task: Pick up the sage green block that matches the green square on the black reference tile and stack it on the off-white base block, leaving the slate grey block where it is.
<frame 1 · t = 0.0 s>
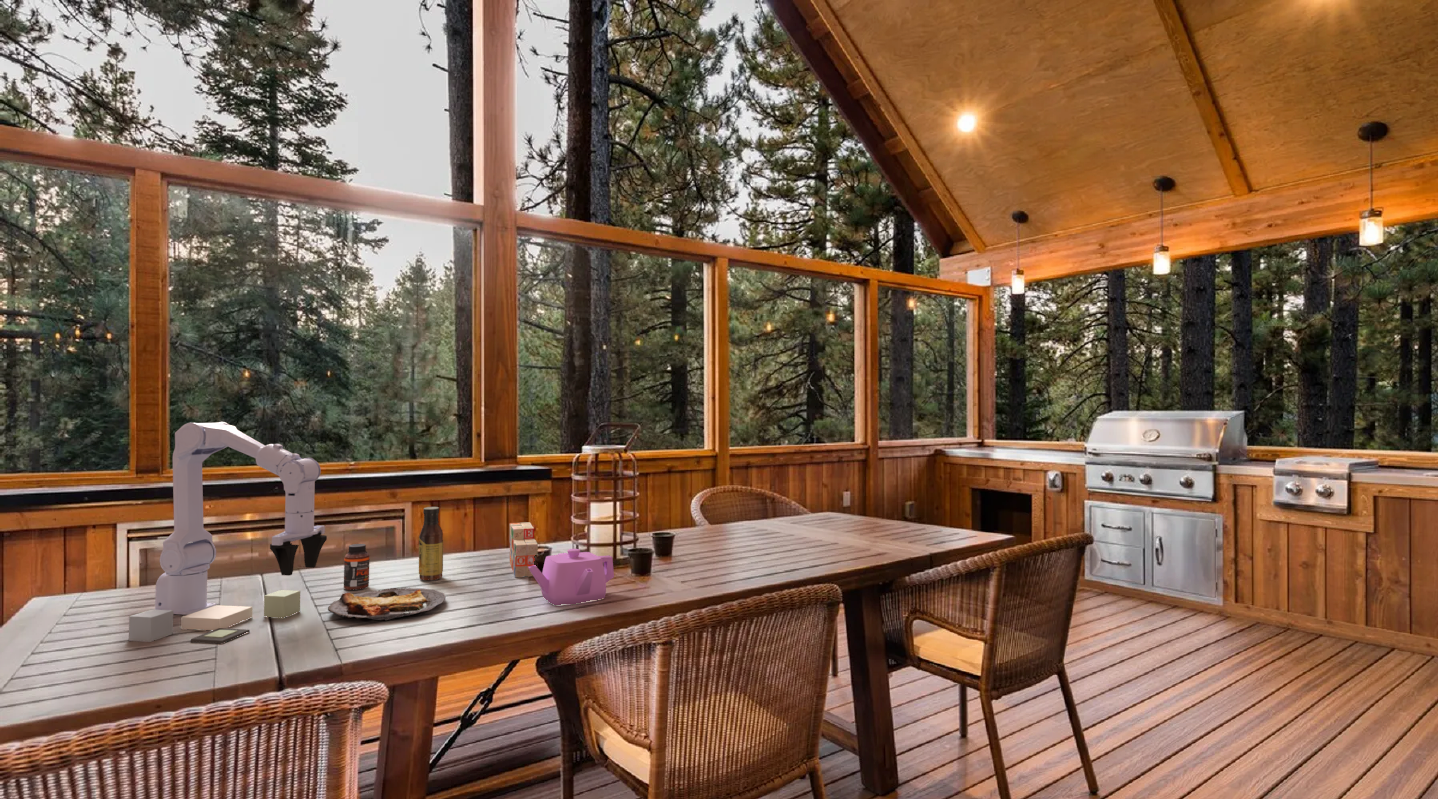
hand: (298, 571, 160), 10 cm above the table, tool pointing down, fingers open, 7 cm apart
reference tile: (220, 637, 145), on the table
grey block: (151, 637, 144), on the table
food plate: (388, 610, 166), on the table
sage block: (282, 615, 160), on the table
teakettle: (572, 599, 176), on the table
sauce bottle: (430, 579, 194), on the table
stack of blocks: (522, 569, 208), on the table
base block: (217, 625, 153), on the table
supplement bottle: (356, 588, 184), on the table
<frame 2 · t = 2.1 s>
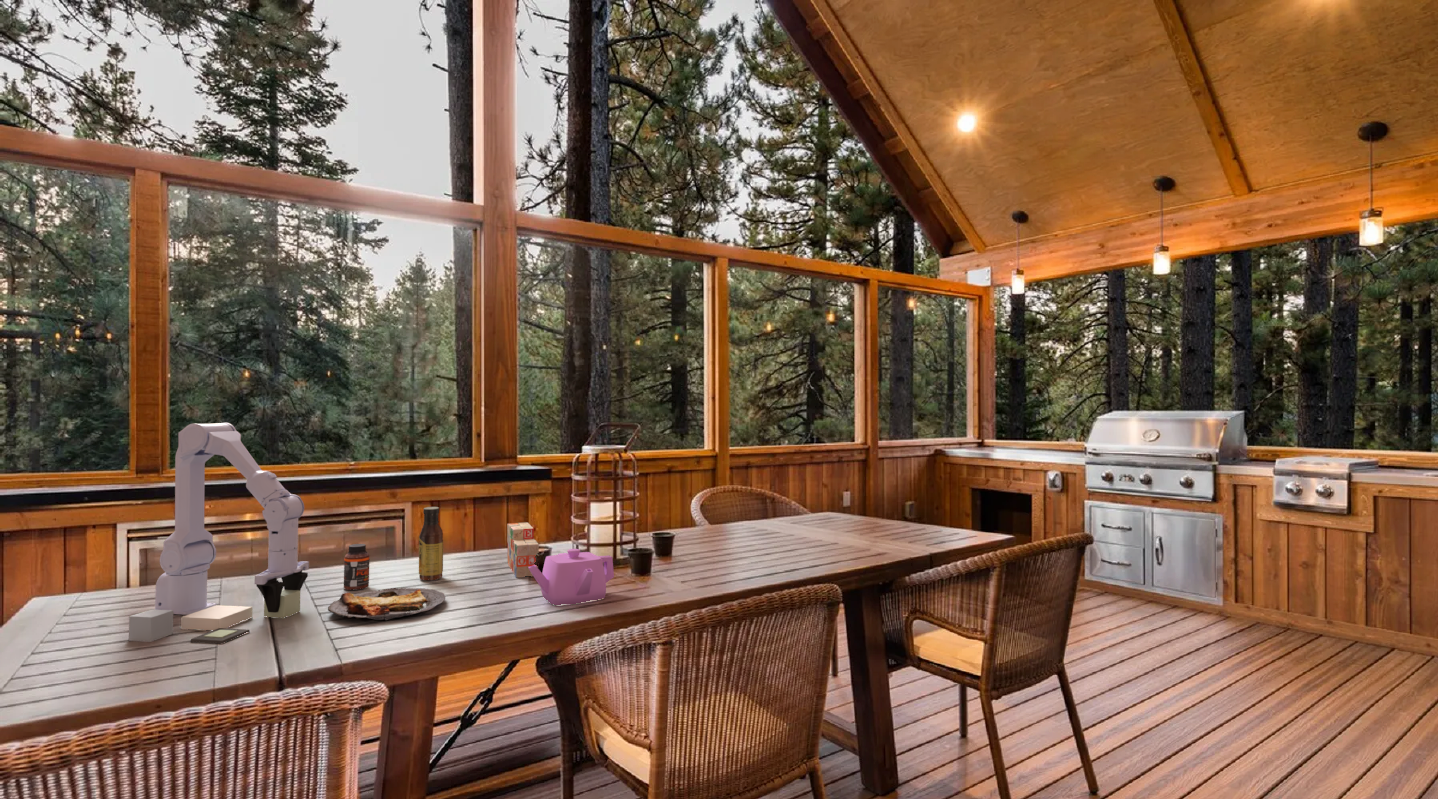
hand: (282, 608, 160), 1 cm above the table, tool pointing down, fingers closed on sage block, 5 cm apart
sage block: (282, 614, 160), on the table, touching gripper
everything else where it was.
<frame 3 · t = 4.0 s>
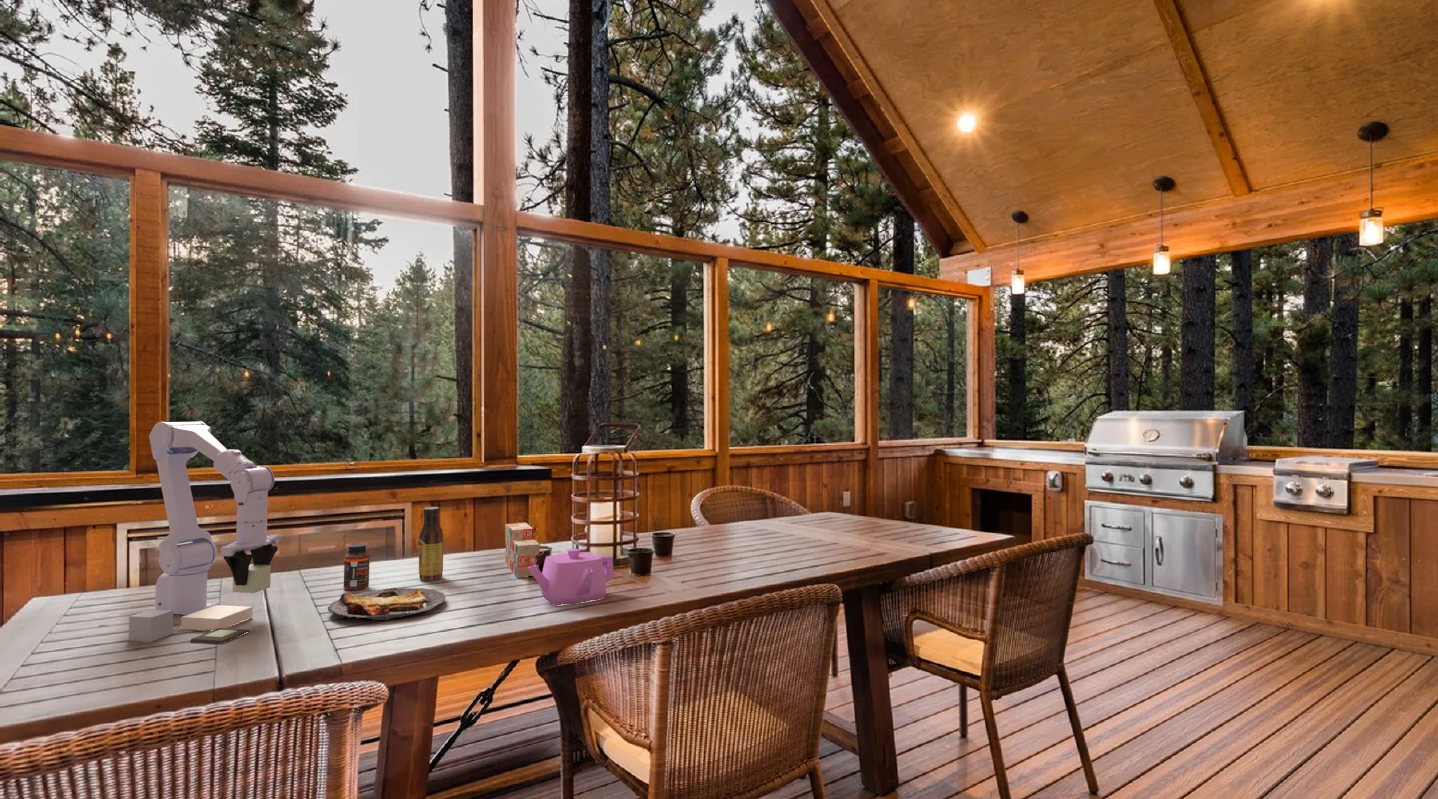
hand: (250, 581, 157), 8 cm above the table, tool pointing down, fingers closed on sage block, 5 cm apart
sage block: (251, 589, 157), point 7 cm above the table, touching gripper
everything else where it was.
when the fingers open (5 cm above the table, at t = 5.8 s): sage block drops 1 cm, point 2 cm above the table.
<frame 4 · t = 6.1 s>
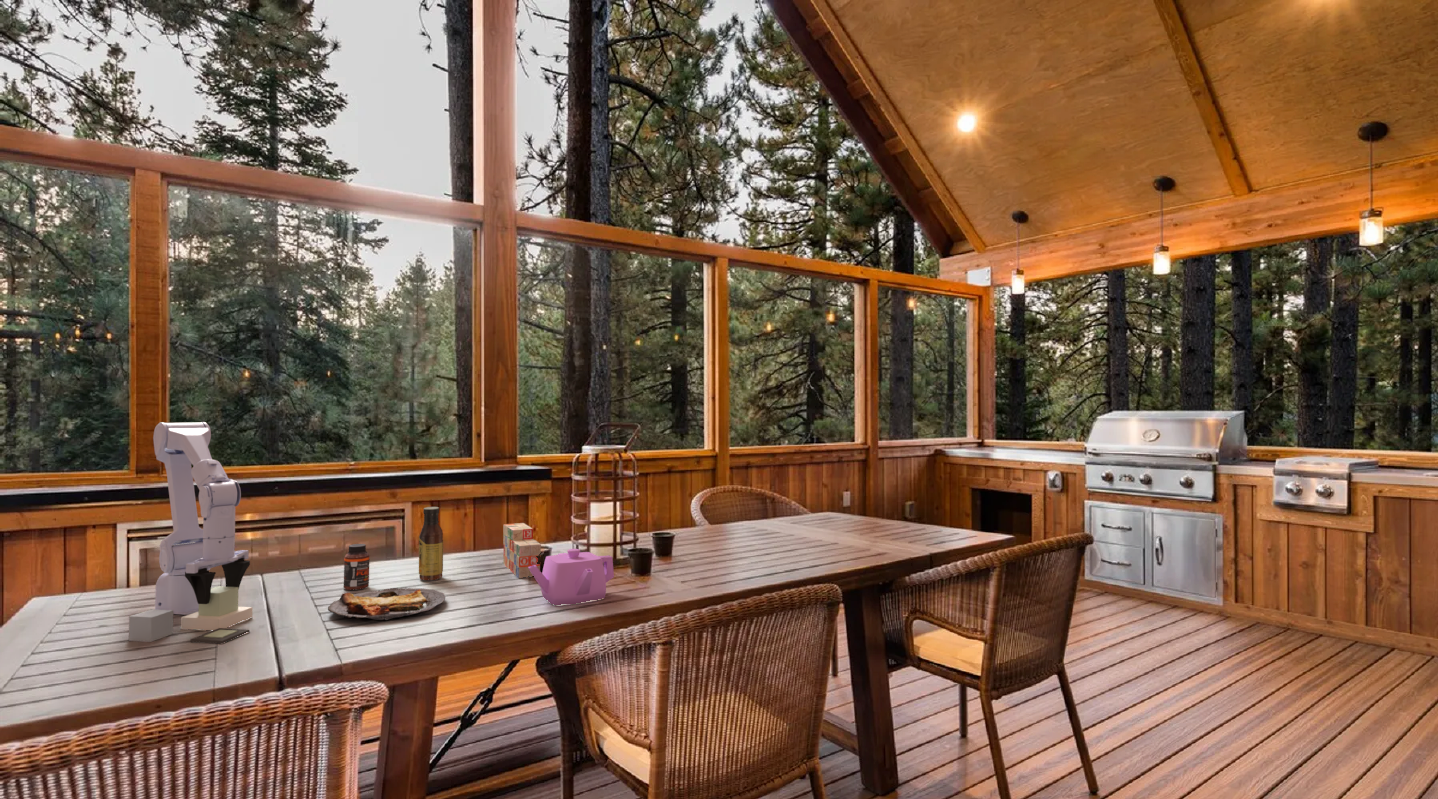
hand: (218, 598, 154), 5 cm above the table, tool pointing down, fingers open, 7 cm apart
sage block: (218, 612, 153), point 2 cm above the table
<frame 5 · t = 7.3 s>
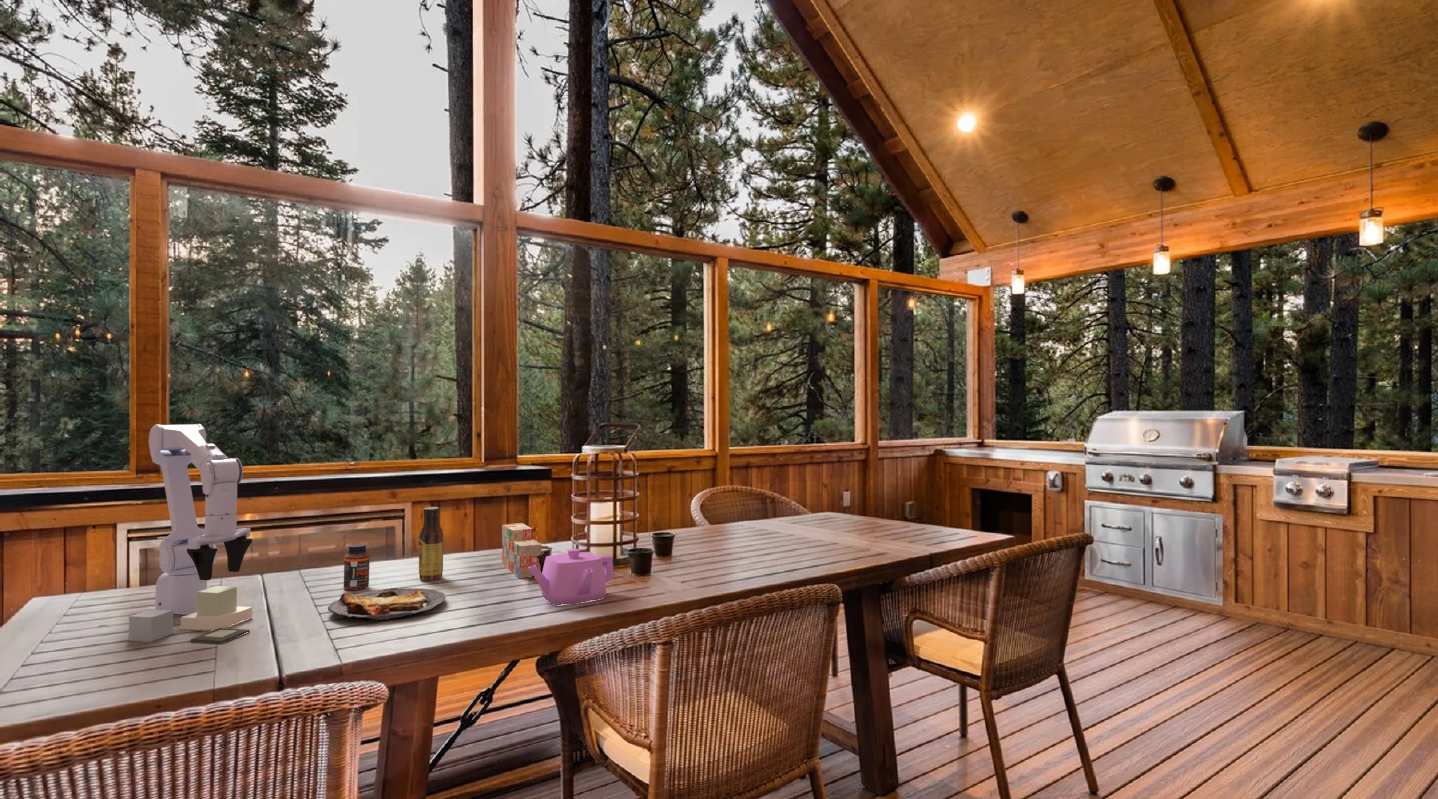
hand: (219, 575, 154), 10 cm above the table, tool pointing down, fingers open, 7 cm apart
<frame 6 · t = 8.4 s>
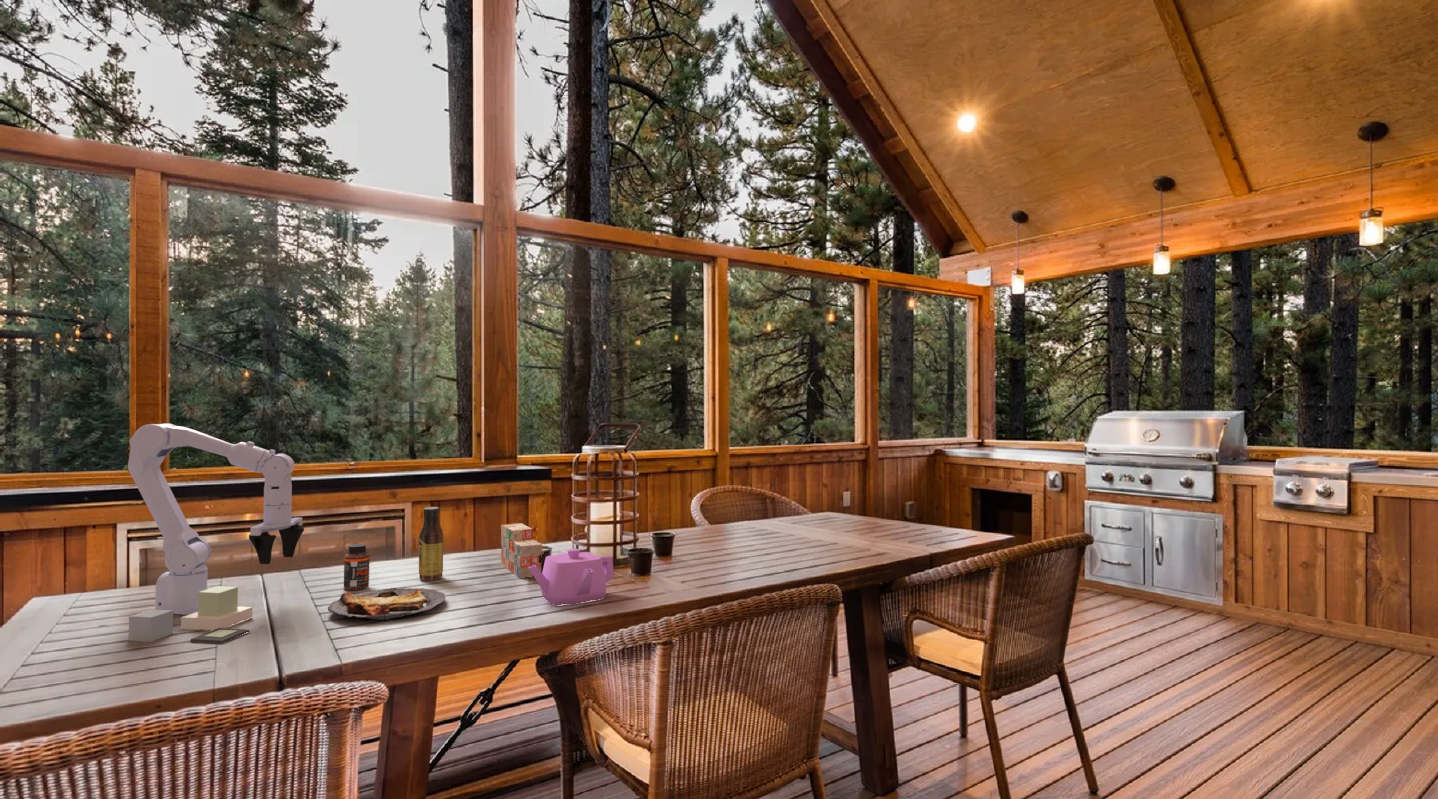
hand: (276, 560, 169), 10 cm above the table, tool pointing down, fingers open, 7 cm apart
sage block: (218, 612, 153), point 2 cm above the table, touching base block
base block: (217, 625, 154), on the table, touching sage block
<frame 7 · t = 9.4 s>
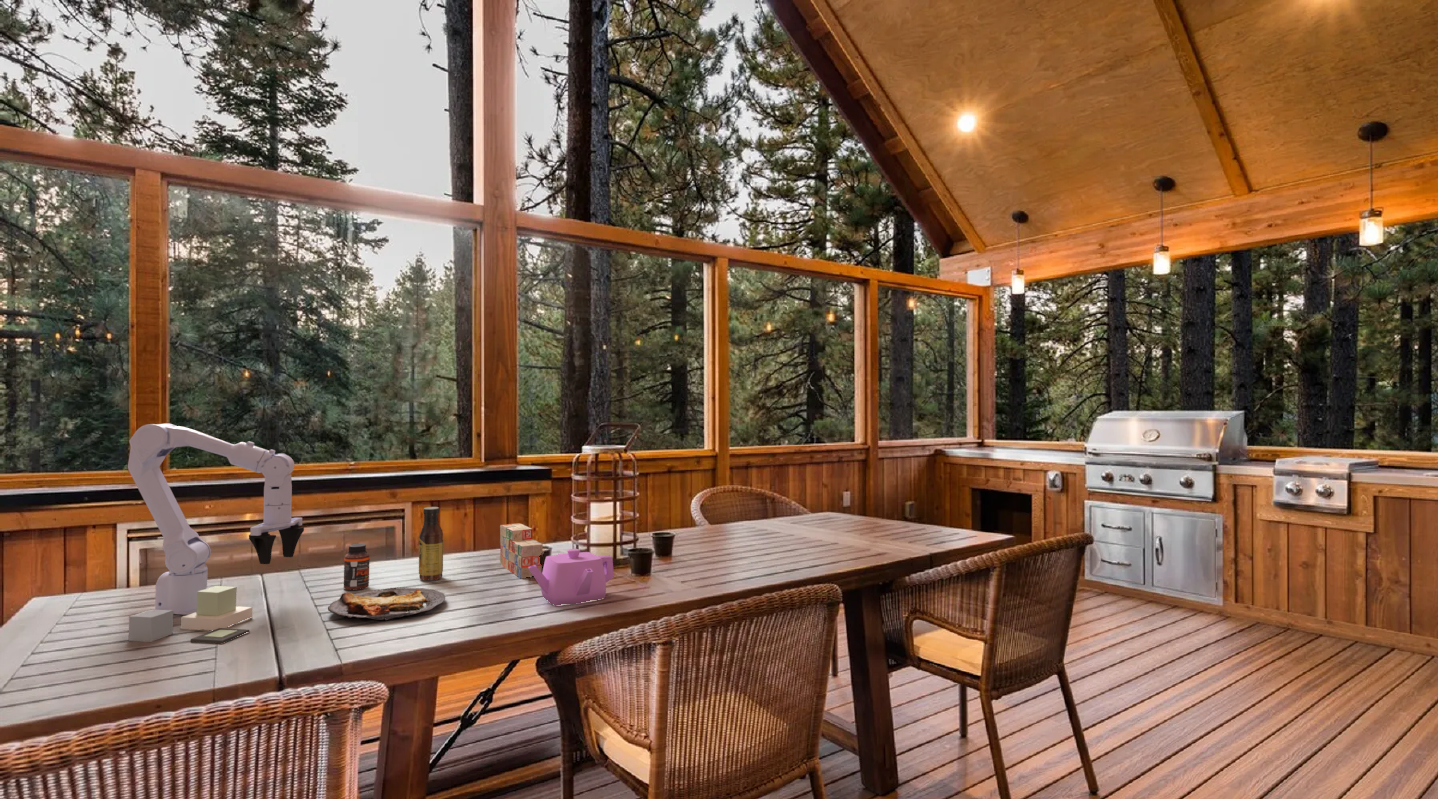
hand: (276, 560, 169), 10 cm above the table, tool pointing down, fingers open, 7 cm apart
sage block: (216, 612, 153), point 3 cm above the table
base block: (217, 625, 154), on the table
at the end: sage block 0.4 cm off-centre on the base block, point 3.0 cm above the base block's base; sage block tilted 0°; grey block moved 0.1 cm from its start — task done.
